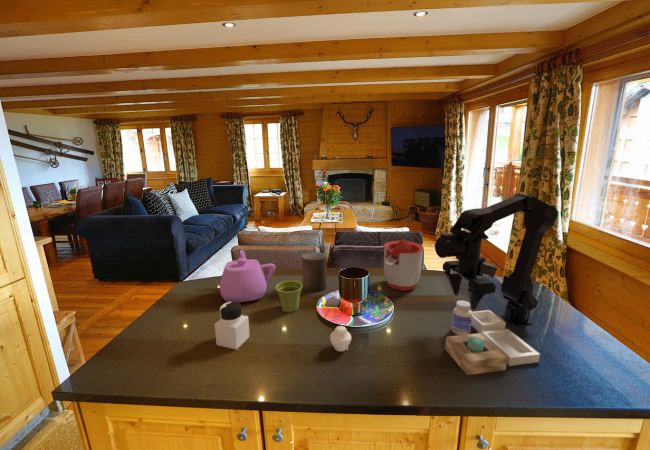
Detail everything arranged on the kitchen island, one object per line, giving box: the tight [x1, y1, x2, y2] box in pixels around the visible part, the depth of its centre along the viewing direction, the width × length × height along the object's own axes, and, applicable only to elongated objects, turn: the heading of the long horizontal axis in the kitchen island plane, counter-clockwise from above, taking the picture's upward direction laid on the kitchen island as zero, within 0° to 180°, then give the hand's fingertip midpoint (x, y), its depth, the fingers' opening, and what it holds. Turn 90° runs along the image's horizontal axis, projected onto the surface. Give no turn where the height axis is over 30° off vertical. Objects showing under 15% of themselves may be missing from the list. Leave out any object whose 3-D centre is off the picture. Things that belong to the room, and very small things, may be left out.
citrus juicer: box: [383, 238, 424, 292], centre depth 133 cm, size 16×17×20 cm
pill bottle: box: [451, 300, 473, 336], centre depth 102 cm, size 5×5×10 cm
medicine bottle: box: [214, 301, 250, 350], centre depth 98 cm, size 7×7×12 cm
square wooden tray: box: [444, 332, 508, 376], centre depth 90 cm, size 11×11×4 cm
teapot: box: [219, 249, 276, 303], centre depth 130 cm, size 23×21×15 cm
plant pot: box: [275, 280, 303, 313], centre depth 117 cm, size 9×9×9 cm
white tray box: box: [471, 309, 507, 333], centre depth 105 cm, size 8×8×4 cm
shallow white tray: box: [481, 328, 541, 367], centre depth 94 cm, size 9×12×2 cm
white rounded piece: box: [329, 325, 352, 352], centre depth 95 cm, size 6×6×7 cm
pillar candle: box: [301, 251, 327, 293], centre depth 133 cm, size 10×10×15 cm
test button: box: [467, 337, 484, 353], centre depth 90 cm, size 4×4×4 cm
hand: (464, 301), depth 101 cm, fingers open, 9 cm apart
